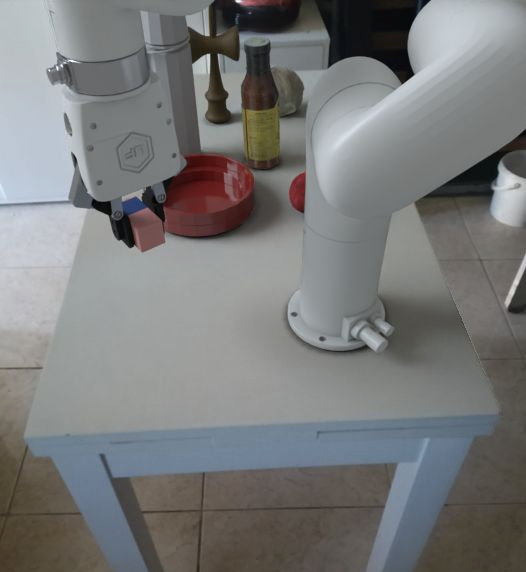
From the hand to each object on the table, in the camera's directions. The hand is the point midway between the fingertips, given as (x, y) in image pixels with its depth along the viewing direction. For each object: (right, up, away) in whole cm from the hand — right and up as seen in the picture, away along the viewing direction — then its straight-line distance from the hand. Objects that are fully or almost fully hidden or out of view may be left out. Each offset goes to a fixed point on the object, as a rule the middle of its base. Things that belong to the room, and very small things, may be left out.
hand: (141, 234), depth 65 cm
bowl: (+4, +10, +28) cm, 30 cm away
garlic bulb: (+17, +34, +49) cm, 62 cm away
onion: (+21, +8, +26) cm, 34 cm away
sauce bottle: (+14, +20, +37) cm, 44 cm away
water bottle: (-1, +20, +37) cm, 42 cm away
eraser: (0, 0, 0) cm, 0 cm away
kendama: (+5, +32, +48) cm, 58 cm away
